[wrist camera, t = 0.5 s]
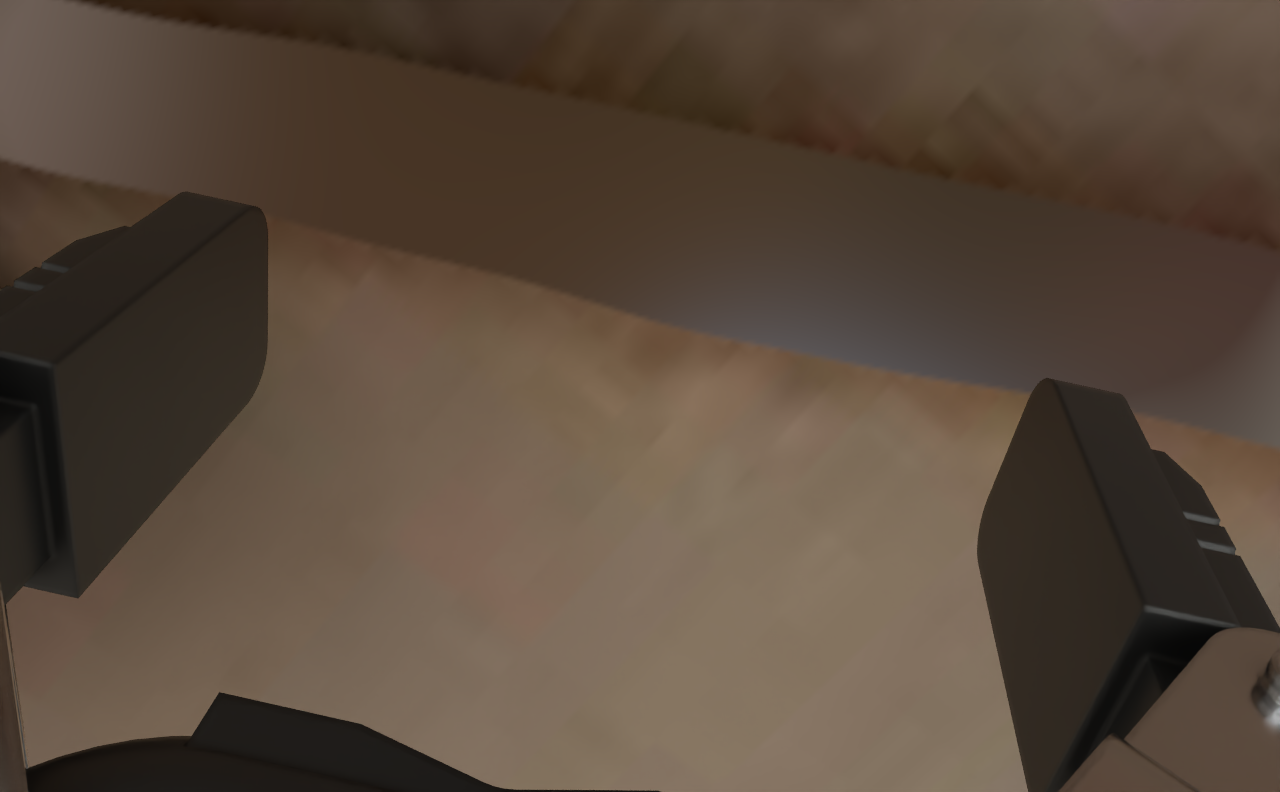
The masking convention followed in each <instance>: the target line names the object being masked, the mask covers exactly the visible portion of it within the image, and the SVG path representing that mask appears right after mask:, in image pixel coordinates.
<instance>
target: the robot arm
mask: <svg viewBox="0 0 1280 792" xmlns="http://www.w3.org/2000/svg"><path fill="white" fill-rule="evenodd" d="M267 341H268V229H267V223H266V219H265V216H264V214H263V212H262V211H261V209H260V208H258V207H256V206H251V205H246V204H241V203H237V202H232V201H228V200H223V199H218V198H213V197H209V196H204V195H199V194H195V193H190V192H182V193H180V194H178V195H177V196H175V197H174V198H172V199H171V200H169V201H168V202H166V203H165V204H163V205H162V206H161V207H159V208H158V209H156V210H155V211H153V212H152V213H150V214H149V215H148V216H146V217H145V218H143V219H142V220H140V221H139V222H137V223H136V224H135V225H133V226H132V227H127V226H123V227H119V228H116V229H113V230H109V231H106V232H103V233H99V234H96V235H93V236H89V237H86V238H83V239H80V240H76V241H74V242H73V243H71V244H70V245H68V246H67V247H65V248H64V249H62V250H61V251H59V252H58V253H56V254H55V255H53V256H52V257H50V258H48V259H47V260H45V261H44V262H42V267H41V268H37V267H35V268H33V269H32V270H30V271H29V272H27V273H26V274H24V275H23V276H21V277H20V278H18V279H16V280H15V281H14V286H13V287H11V286H6V287H4V288H3V289H1V290H0V792H660V791H623V790H513V789H503V788H499V787H494V786H492V785H489V784H486V783H484V782H482V781H480V780H477V779H475V778H473V777H471V776H469V775H467V774H465V773H463V772H461V771H458V770H456V769H454V768H452V767H450V766H448V765H446V764H444V763H442V762H440V761H437V760H435V759H433V758H431V757H429V756H427V755H425V754H423V753H421V752H418V751H416V750H414V749H412V748H410V747H408V746H406V745H404V744H402V743H399V742H397V741H395V740H393V739H391V738H389V737H387V736H385V735H383V734H381V733H378V732H376V731H374V730H372V729H370V728H368V727H366V726H364V725H362V724H358V723H353V722H349V721H345V720H340V719H336V718H331V717H327V716H322V715H318V714H313V713H309V712H305V711H300V710H296V709H291V708H287V707H282V706H278V705H273V704H269V703H265V702H260V701H256V700H251V699H247V698H242V697H238V696H233V695H229V694H225V693H220V692H219V694H218V695H217V697H216V698H215V700H214V702H213V703H212V705H211V706H210V708H209V709H208V711H207V713H206V714H205V716H204V717H203V719H202V721H201V722H200V724H199V725H198V727H197V729H196V730H195V732H194V733H193V735H192V736H169V737H158V738H147V739H136V740H130V741H124V742H119V743H113V744H108V745H102V746H97V747H93V748H90V749H86V750H82V751H79V752H75V753H71V754H68V755H64V756H60V757H57V758H55V759H52V760H49V761H46V762H44V763H41V764H38V765H35V766H33V767H30V768H29V761H28V754H27V747H26V740H25V733H24V726H23V719H22V712H21V705H20V698H19V691H18V684H17V677H16V670H15V663H14V656H13V649H12V642H11V635H10V629H9V622H8V615H7V609H6V603H7V602H8V601H9V600H10V599H11V598H12V597H13V596H14V595H15V594H16V593H17V592H18V591H19V590H20V589H21V588H22V587H23V586H25V587H29V588H34V589H38V590H43V591H47V592H52V593H56V594H61V595H65V596H70V597H74V598H79V597H80V596H81V595H82V593H83V592H84V591H85V590H86V589H87V588H88V586H89V585H90V584H91V583H92V582H93V581H94V580H95V578H96V577H97V576H98V575H99V574H100V573H101V571H102V570H103V569H104V568H105V567H106V566H107V565H108V563H109V562H110V561H111V560H112V559H113V558H114V557H115V555H116V554H117V553H118V552H119V551H120V550H121V548H122V547H123V546H124V545H125V544H126V543H127V542H128V540H129V539H130V538H131V537H132V536H133V535H134V533H135V532H136V531H137V530H138V529H139V528H140V527H141V525H142V524H143V523H144V522H145V521H146V520H147V518H148V517H149V516H150V515H151V514H152V513H153V512H154V510H155V509H156V508H157V507H158V506H159V505H160V504H161V502H162V501H163V500H164V499H165V498H166V497H167V495H168V494H169V493H170V492H171V491H172V490H173V489H174V487H175V486H176V485H177V484H178V483H179V482H180V480H181V479H182V478H183V477H184V476H185V475H186V474H187V472H188V471H189V470H190V469H191V468H192V467H193V465H194V464H195V463H196V462H197V461H198V460H199V459H200V457H201V456H202V455H203V454H204V453H205V452H206V451H207V449H208V448H209V447H210V446H211V445H212V444H213V442H214V441H215V440H216V439H217V438H218V437H219V436H220V434H221V433H222V432H223V431H224V430H225V429H226V427H227V426H228V425H229V424H230V423H231V422H232V421H233V419H234V418H235V417H236V416H237V415H238V414H239V413H240V411H241V410H242V409H243V408H244V407H245V406H246V404H247V403H248V402H249V401H250V399H251V398H252V396H253V395H254V393H255V391H256V389H257V387H258V384H259V382H260V379H261V376H262V373H263V369H264V365H265V360H266V354H267ZM1219 523H1220V519H1219V517H1218V515H1217V513H1216V512H1215V510H1214V508H1213V506H1212V504H1211V502H1210V501H1209V499H1208V497H1207V495H1206V493H1205V492H1204V490H1203V488H1202V486H1201V485H1200V484H1199V483H1198V482H1196V481H1195V480H1194V479H1193V478H1192V477H1191V476H1190V475H1189V474H1188V473H1187V472H1186V471H1184V470H1183V469H1182V468H1181V467H1180V466H1179V465H1178V464H1177V463H1176V462H1175V461H1174V460H1172V459H1171V458H1170V457H1169V456H1168V455H1167V454H1166V453H1165V452H1162V451H1157V450H1152V449H1151V448H1150V446H1149V444H1148V442H1147V440H1146V438H1145V436H1144V434H1143V432H1142V430H1141V428H1140V426H1139V424H1138V422H1137V420H1136V418H1135V416H1134V414H1133V413H1132V411H1131V409H1130V407H1129V405H1128V403H1127V401H1126V399H1125V398H1124V397H1123V395H1121V394H1118V393H1114V392H1109V391H1105V390H1100V389H1095V388H1090V387H1086V386H1081V385H1077V384H1072V383H1067V382H1062V381H1058V380H1054V379H1049V378H1046V379H1044V380H1042V381H1040V383H1039V384H1038V385H1037V386H1036V387H1035V389H1034V390H1033V392H1032V394H1031V396H1030V398H1029V400H1028V402H1027V404H1026V407H1025V409H1024V412H1023V414H1022V417H1021V419H1020V421H1019V424H1018V426H1017V429H1016V431H1015V434H1014V436H1013V438H1012V441H1011V443H1010V446H1009V448H1008V451H1007V453H1006V455H1005V458H1004V460H1003V463H1002V465H1001V468H1000V470H999V472H998V475H997V477H996V480H995V482H994V485H993V487H992V490H991V492H990V494H989V497H988V499H987V502H986V505H985V508H984V511H983V514H982V518H981V523H980V528H979V534H978V544H977V556H978V564H979V569H980V574H981V578H982V583H983V587H984V592H985V597H986V601H987V606H988V610H989V615H990V619H991V624H992V628H993V633H994V638H995V642H996V647H997V651H998V656H999V660H1000V665H1001V669H1002V674H1003V679H1004V683H1005V688H1006V692H1007V697H1008V701H1009V706H1010V710H1011V715H1012V720H1013V724H1014V729H1015V733H1016V738H1017V742H1018V747H1019V752H1020V756H1021V761H1022V765H1023V770H1024V774H1025V779H1026V783H1027V788H1028V792H1280V628H1279V626H1278V624H1277V622H1276V620H1275V618H1274V617H1273V615H1272V613H1271V611H1270V609H1269V608H1268V606H1267V604H1266V602H1265V600H1264V599H1263V597H1262V595H1261V593H1260V591H1259V589H1258V588H1257V586H1256V584H1255V582H1254V580H1253V579H1252V577H1251V575H1250V573H1249V571H1248V570H1247V568H1246V566H1245V564H1244V562H1243V560H1242V559H1241V557H1240V556H1237V555H1235V550H1236V548H1235V546H1234V544H1233V542H1232V541H1231V539H1230V537H1229V535H1228V533H1227V531H1226V530H1225V528H1224V527H1221V526H1219Z"/></svg>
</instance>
